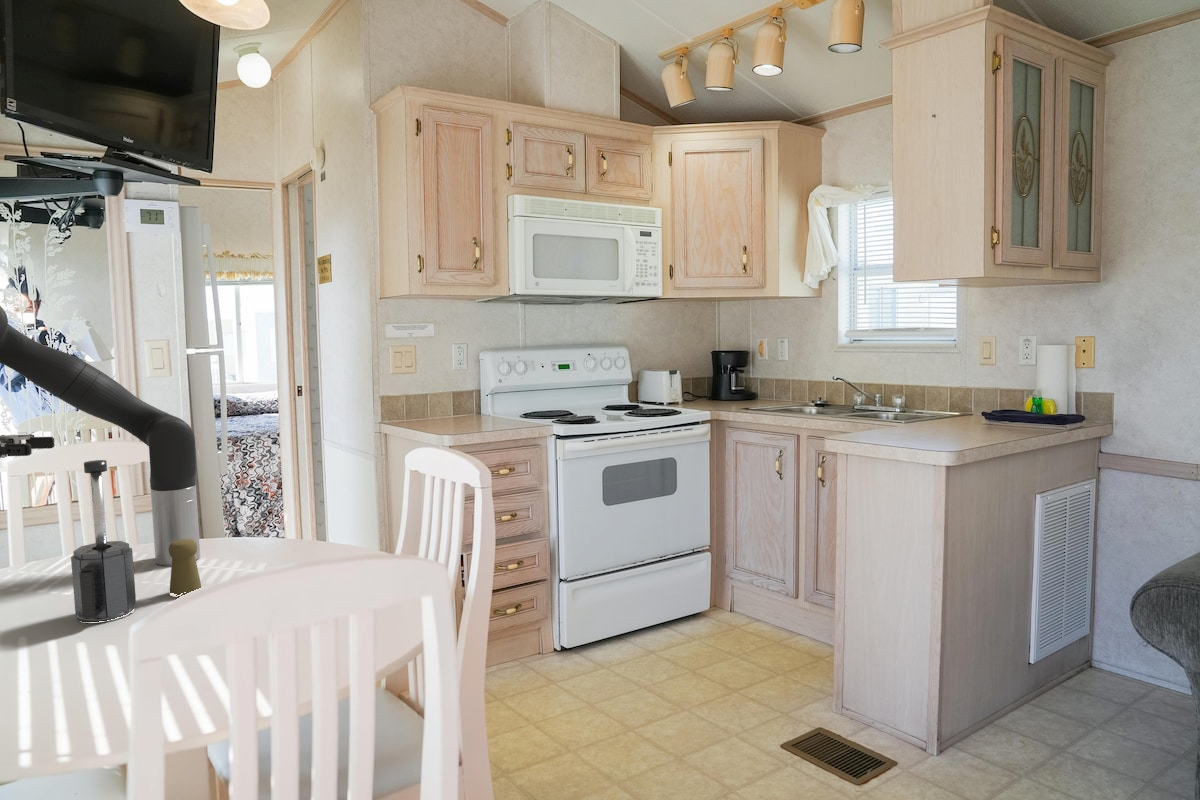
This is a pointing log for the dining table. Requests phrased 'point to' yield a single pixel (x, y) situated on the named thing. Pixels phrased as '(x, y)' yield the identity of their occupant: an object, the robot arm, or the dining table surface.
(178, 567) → the cork
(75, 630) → the dining table surface
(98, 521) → the plunger
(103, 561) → the coffee press
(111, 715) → the dining table surface
